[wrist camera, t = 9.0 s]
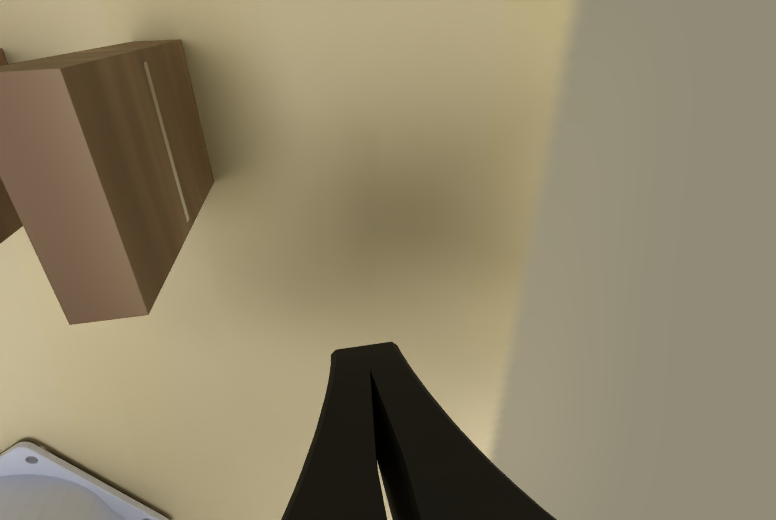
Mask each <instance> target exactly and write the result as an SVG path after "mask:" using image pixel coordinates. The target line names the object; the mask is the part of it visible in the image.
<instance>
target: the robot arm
mask: <svg viewBox="0 0 776 520" xmlns="http://www.w3.org/2000/svg"><path fill="white" fill-rule="evenodd" d="M377 461H378V465H379V469H380V473H381V476H382V480H383V484H384V488H385V492H386V496H387V499H388V503H389V507H390V511H391V515H392V518H393V520H556V519H555V518H554V517H553V516H551V515H550V514H549V513H548V512H546V511H545V510H544V509H543V508H541V507H540V506H539V505H538V504H537V503H536V502H535V501H534V500H532V499H531V498H530V497H529V496H528V495H527V494H526V493H524V492H523V491H522V490H521V489H520V488H519V487H517V486H516V485H515V484H514V483H513V482H512V481H511V480H510V479H509V478H508V477H507V476H506V475H505V474H504V473H503V472H501V471H500V470H499V469H498V468H497V467H496V466H495V465H494V464H493V463H492V462H491V461H490V460H489V459H488V458H487V457H486V456H485V455H484V454H483V453H482V452H481V451H480V450H479V449H478V448H477V447H476V446H475V445H474V444H473V442H472V441H471V440H470V439H469V438H468V437H467V436H466V435H465V434H464V433H463V432H462V431H461V430H460V428H459V427H458V426H457V425H456V424H455V423H454V422H453V421H452V419H451V418H450V417H449V416H448V415H447V414H446V412H445V411H444V410H443V409H442V407H441V406H440V405H439V404H438V403H437V401H436V400H435V399H434V398H433V397H432V395H431V394H430V393H429V392H428V390H427V389H426V388H425V386H424V385H423V384H422V382H421V381H420V380H419V378H418V377H417V375H416V374H415V373H414V371H413V370H412V368H411V367H410V366H409V364H408V363H407V361H406V359H405V358H404V356H403V355H402V353H401V351H400V350H399V348H398V346H397V345H396V344H394V343H393V342H387V343H380V344H373V345H366V346H359V347H352V348H345V349H338V350H335V351H334V352H333V353H332V354H331V367H330V375H329V381H328V386H327V391H326V395H325V400H324V403H323V407H322V410H321V414H320V417H319V421H318V425H317V428H316V431H315V435H314V438H313V440H312V443H311V446H310V449H309V452H308V454H307V457H306V460H305V463H304V466H303V469H302V471H301V474H300V477H299V479H298V482H297V484H296V487H295V489H294V491H293V494H292V496H291V499H290V501H289V503H288V506H287V508H286V510H285V512H284V515H283V517H282V519H281V520H387V517H386V511H385V506H384V501H383V496H382V490H381V485H380V480H379V475H378V467H377ZM0 520H169V519H168V518H166V517H164V516H163V515H161V514H159V513H157V512H155V511H154V510H152V509H150V508H148V507H146V506H145V505H143V504H141V503H139V502H138V501H136V500H134V499H132V498H130V497H129V496H127V495H125V494H123V493H121V492H120V491H118V490H116V489H114V488H112V487H111V486H109V485H107V484H105V483H103V482H102V481H100V480H98V479H96V478H94V477H93V476H91V475H89V474H87V473H85V472H84V471H82V470H80V469H78V468H76V467H75V466H73V465H71V464H69V463H67V462H66V461H64V460H62V459H60V458H58V457H57V456H55V455H53V454H51V453H50V452H48V451H46V450H44V449H42V448H41V447H39V446H37V445H35V444H33V443H31V442H19V443H17V444H15V445H14V446H12V447H11V448H9V449H8V450H6V451H5V452H3V453H2V454H0Z"/></svg>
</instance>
